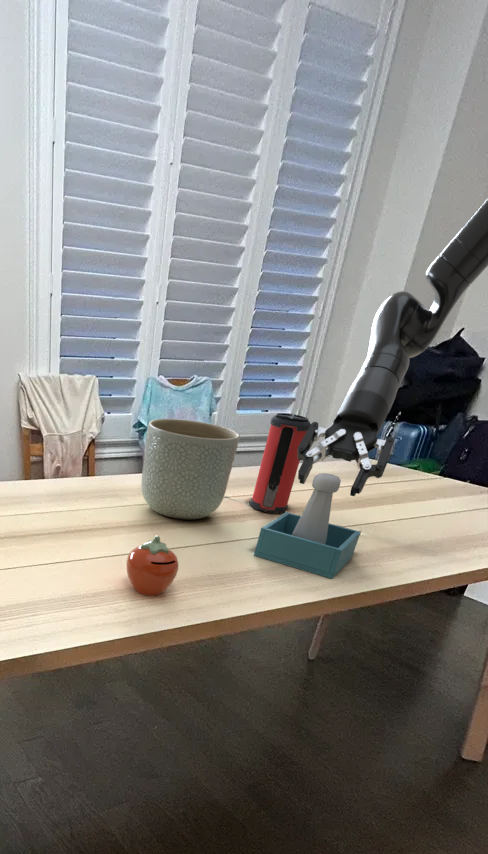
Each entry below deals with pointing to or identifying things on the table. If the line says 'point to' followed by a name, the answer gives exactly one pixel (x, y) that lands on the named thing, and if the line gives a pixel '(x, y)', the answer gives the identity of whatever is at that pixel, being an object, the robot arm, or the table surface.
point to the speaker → (279, 463)
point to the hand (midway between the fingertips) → (326, 487)
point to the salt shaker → (318, 509)
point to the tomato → (152, 567)
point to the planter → (187, 467)
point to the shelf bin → (306, 546)
